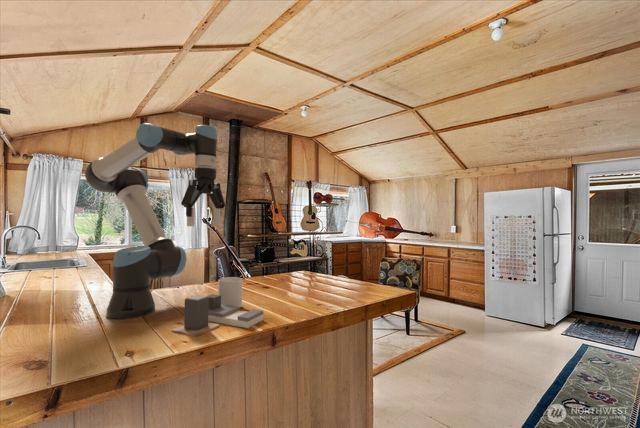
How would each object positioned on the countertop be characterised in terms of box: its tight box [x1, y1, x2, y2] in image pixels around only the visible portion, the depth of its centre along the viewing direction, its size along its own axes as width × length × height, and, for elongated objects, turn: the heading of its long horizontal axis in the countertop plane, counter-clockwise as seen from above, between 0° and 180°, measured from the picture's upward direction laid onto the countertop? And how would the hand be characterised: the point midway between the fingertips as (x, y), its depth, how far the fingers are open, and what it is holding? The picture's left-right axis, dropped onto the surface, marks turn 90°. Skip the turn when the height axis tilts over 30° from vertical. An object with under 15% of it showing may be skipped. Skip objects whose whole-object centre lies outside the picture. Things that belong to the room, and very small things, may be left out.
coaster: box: [171, 321, 221, 338], centre depth 102 cm, size 10×10×1 cm
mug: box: [217, 276, 243, 309], centre depth 127 cm, size 12×9×11 cm
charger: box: [183, 294, 209, 331], centre depth 102 cm, size 5×5×9 cm
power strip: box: [207, 293, 264, 329], centre depth 112 cm, size 24×9×7 cm, turn 67°
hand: (204, 225), depth 120 cm, fingers open, 13 cm apart
